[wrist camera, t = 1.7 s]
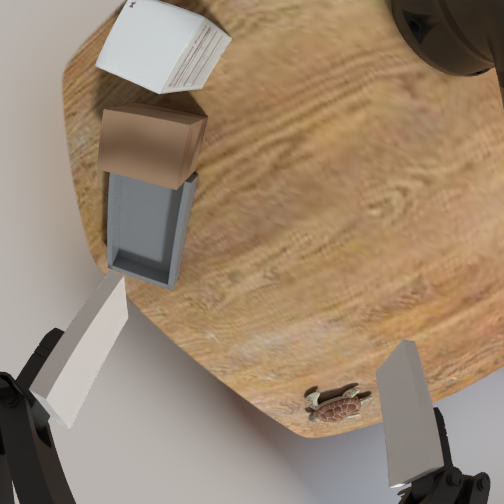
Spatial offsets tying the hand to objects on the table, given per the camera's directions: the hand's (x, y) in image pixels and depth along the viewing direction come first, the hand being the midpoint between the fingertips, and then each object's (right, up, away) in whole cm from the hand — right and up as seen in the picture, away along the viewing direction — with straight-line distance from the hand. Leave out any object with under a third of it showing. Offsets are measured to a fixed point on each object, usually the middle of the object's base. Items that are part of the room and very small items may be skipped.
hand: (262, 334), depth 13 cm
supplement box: (-7, +27, +15) cm, 31 cm away
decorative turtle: (+19, -31, +48) cm, 61 cm away
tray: (-15, +8, +27) cm, 32 cm away
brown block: (-11, +18, +21) cm, 30 cm away
